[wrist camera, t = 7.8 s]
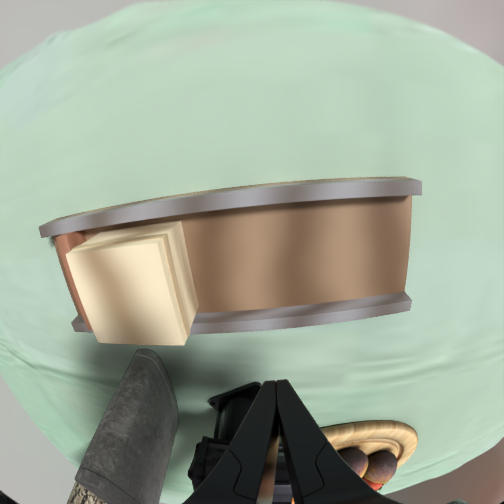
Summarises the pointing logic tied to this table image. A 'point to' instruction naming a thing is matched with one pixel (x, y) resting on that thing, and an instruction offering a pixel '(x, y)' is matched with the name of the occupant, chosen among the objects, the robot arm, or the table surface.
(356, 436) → the wooden plate with food
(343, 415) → the table surface
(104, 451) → the flask
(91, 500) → the tree log
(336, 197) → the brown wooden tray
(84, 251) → the cream square block
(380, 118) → the table surface
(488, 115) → the table surface
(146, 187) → the table surface
